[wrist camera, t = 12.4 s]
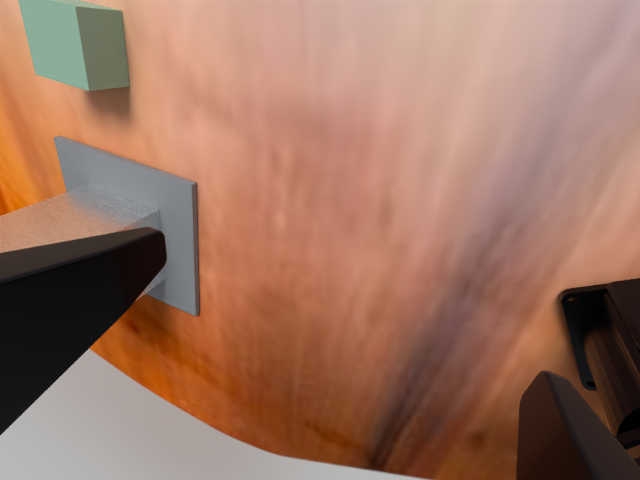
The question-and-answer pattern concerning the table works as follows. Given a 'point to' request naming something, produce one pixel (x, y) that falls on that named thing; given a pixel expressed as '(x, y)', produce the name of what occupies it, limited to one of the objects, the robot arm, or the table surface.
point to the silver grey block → (76, 220)
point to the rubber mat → (153, 190)
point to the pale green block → (77, 43)
